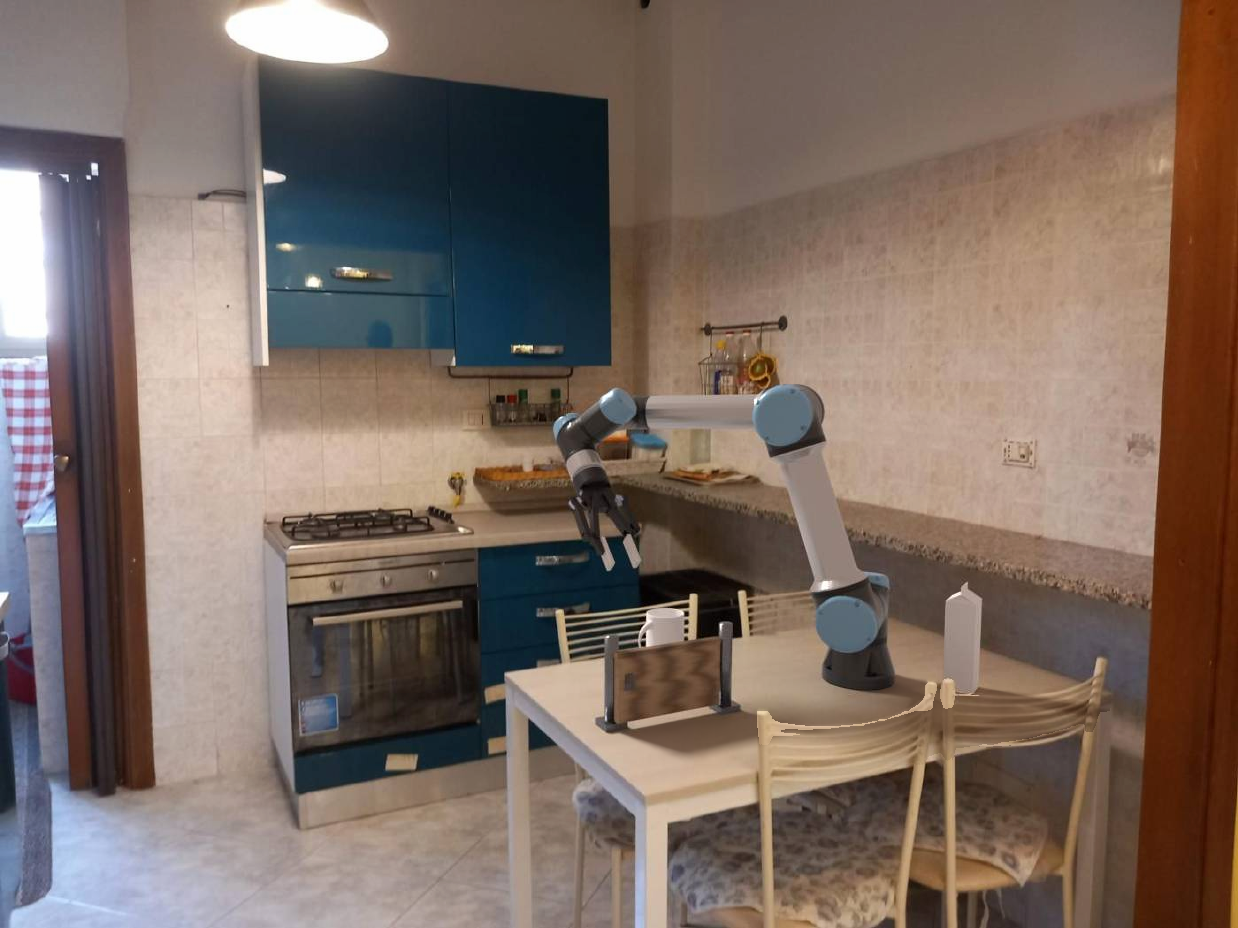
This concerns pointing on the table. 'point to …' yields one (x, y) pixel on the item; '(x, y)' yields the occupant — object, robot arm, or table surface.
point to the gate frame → (722, 708)
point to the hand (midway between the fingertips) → (624, 565)
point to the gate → (666, 679)
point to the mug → (663, 627)
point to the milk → (962, 640)
